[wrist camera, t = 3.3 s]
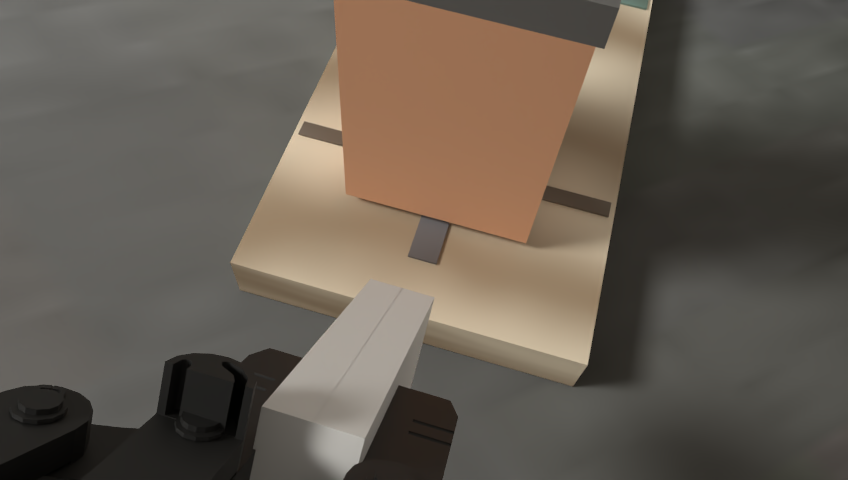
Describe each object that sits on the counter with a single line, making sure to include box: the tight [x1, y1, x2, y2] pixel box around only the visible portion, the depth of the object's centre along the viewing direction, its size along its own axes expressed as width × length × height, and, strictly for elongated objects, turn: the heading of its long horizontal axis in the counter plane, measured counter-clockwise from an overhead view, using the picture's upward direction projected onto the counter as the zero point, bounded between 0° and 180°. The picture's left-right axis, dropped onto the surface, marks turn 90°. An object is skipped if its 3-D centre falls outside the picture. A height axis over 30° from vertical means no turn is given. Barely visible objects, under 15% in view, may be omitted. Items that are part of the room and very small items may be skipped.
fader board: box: [230, 0, 653, 386], centre depth 32 cm, size 30×12×2 cm, turn 164°
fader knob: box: [334, 0, 621, 243], centre depth 22 cm, size 5×7×10 cm
